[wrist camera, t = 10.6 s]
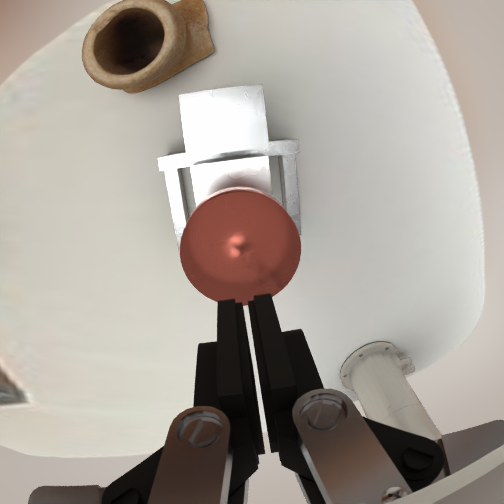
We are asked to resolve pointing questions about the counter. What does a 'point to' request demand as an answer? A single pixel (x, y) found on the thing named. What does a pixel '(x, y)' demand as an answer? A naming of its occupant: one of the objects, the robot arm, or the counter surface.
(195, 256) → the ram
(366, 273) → the counter surface
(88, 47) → the brown boot vase
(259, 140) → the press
